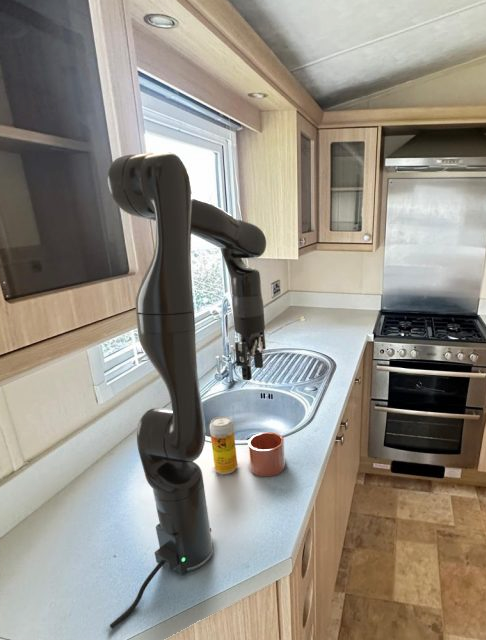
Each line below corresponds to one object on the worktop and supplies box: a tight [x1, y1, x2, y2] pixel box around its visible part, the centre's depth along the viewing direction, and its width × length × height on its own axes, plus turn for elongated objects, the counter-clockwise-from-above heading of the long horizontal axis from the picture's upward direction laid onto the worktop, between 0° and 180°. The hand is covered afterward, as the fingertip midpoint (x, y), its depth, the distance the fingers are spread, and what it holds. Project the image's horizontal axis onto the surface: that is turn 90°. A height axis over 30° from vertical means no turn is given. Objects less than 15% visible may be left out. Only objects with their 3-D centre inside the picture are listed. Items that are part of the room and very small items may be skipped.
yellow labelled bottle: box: [209, 415, 238, 475], centre depth 110 cm, size 6×6×15 cm
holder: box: [247, 431, 286, 477], centre depth 112 cm, size 10×10×8 cm
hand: (253, 373), depth 106 cm, fingers open, 8 cm apart
